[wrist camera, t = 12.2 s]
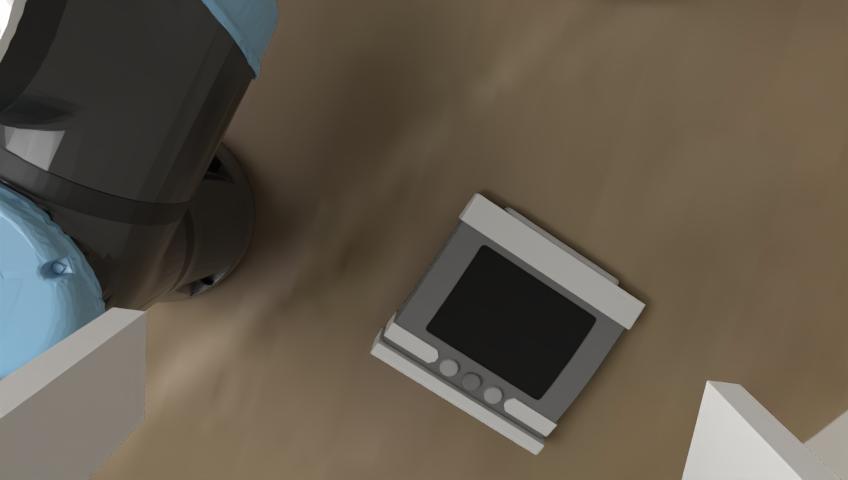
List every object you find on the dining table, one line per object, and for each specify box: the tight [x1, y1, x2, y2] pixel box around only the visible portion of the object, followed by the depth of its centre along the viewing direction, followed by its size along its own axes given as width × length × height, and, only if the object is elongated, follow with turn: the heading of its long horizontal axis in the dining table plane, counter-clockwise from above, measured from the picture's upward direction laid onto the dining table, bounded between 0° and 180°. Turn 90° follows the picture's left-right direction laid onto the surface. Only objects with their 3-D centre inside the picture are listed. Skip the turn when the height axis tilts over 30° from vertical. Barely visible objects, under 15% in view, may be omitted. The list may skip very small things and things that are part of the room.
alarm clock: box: [371, 193, 645, 455], centre depth 51 cm, size 17×5×16 cm
